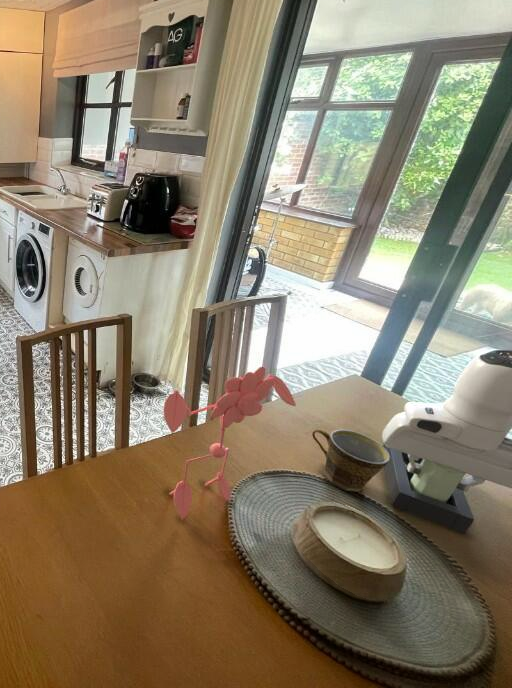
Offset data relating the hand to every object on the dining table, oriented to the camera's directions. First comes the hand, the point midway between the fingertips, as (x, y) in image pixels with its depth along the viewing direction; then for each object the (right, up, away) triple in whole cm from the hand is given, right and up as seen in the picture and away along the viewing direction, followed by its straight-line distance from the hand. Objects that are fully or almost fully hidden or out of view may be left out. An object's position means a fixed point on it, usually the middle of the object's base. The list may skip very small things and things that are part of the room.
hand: (435, 479), depth 84 cm
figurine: (-47, -7, -1) cm, 48 cm away
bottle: (0, -6, +3) cm, 6 cm away
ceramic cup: (-14, -3, +9) cm, 17 cm away
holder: (+3, -4, +6) cm, 8 cm away
